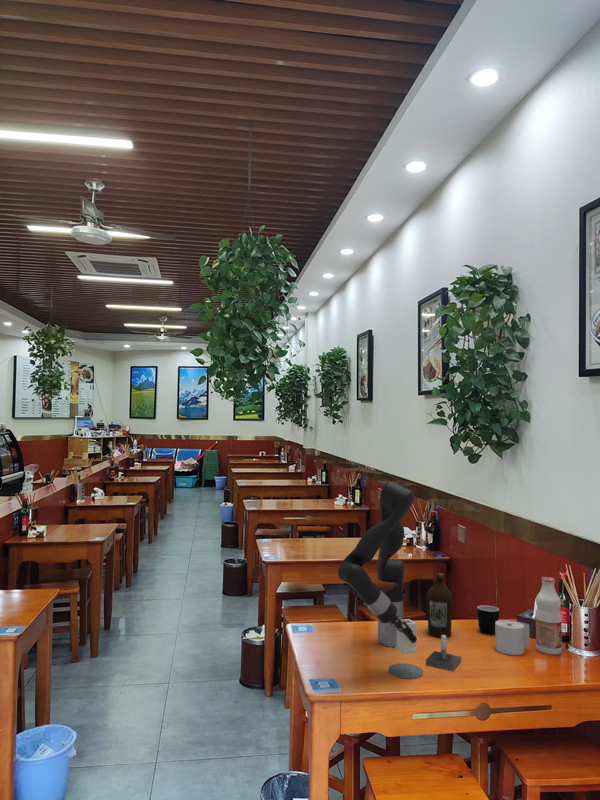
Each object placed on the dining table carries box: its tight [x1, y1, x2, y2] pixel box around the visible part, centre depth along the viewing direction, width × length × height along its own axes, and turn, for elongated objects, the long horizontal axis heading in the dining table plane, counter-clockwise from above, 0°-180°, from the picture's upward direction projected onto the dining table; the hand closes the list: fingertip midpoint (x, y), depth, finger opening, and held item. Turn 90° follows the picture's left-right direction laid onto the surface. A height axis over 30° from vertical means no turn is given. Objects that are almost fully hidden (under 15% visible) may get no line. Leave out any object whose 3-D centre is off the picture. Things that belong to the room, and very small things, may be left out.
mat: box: [388, 662, 424, 680], centre depth 198 cm, size 12×12×1 cm
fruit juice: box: [535, 576, 563, 655], centre depth 223 cm, size 9×9×28 cm
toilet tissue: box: [494, 619, 531, 656], centre depth 223 cm, size 11×12×10 cm
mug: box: [476, 604, 500, 636], centre depth 245 cm, size 12×9×10 cm
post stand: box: [425, 635, 462, 672], centre depth 207 cm, size 10×10×10 cm
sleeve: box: [395, 618, 417, 655], centre depth 199 cm, size 5×5×10 cm
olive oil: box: [426, 572, 454, 639], centre depth 240 cm, size 11×11×25 cm
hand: (410, 638), depth 200 cm, fingers closed on sleeve, 5 cm apart
